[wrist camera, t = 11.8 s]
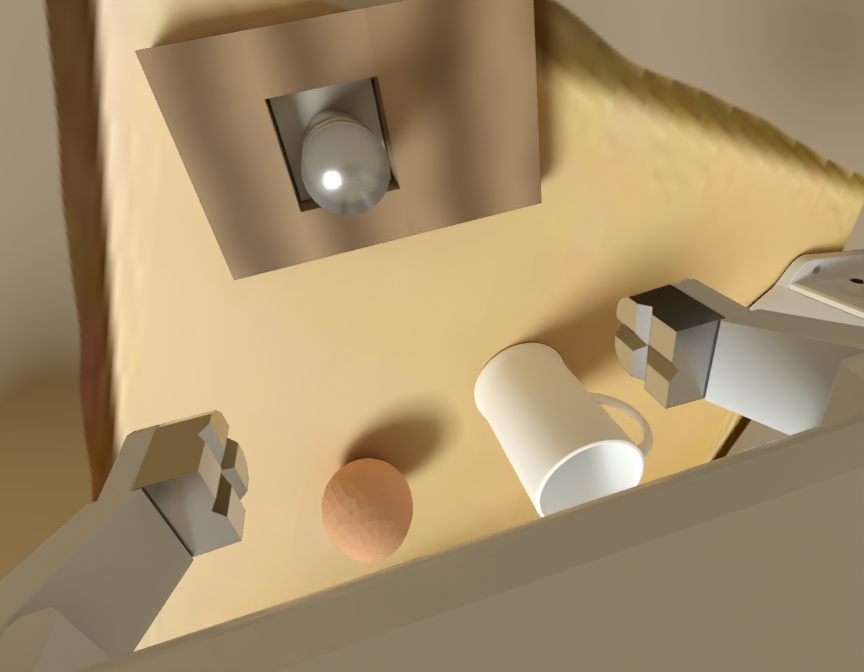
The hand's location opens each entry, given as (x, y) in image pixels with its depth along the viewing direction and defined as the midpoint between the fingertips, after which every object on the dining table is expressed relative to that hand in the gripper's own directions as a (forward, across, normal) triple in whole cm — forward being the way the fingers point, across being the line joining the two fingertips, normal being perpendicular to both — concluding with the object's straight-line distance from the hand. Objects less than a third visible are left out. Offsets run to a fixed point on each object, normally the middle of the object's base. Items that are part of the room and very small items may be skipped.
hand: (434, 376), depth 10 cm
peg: (+23, 0, -1) cm, 23 cm away
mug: (+24, -12, +22) cm, 34 cm away
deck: (+23, -2, -1) cm, 24 cm away
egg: (+24, +5, +26) cm, 35 cm away
